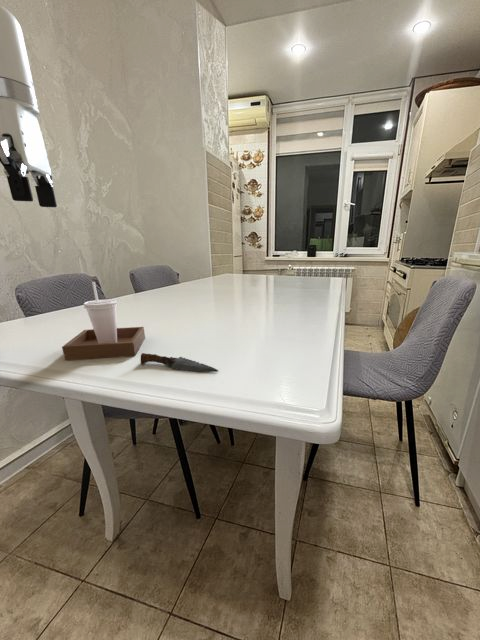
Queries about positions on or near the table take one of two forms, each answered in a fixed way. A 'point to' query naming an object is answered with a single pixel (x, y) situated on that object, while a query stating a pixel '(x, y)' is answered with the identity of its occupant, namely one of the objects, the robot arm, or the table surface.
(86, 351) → the tray
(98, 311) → the smoothie
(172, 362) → the knife
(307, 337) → the table surface
